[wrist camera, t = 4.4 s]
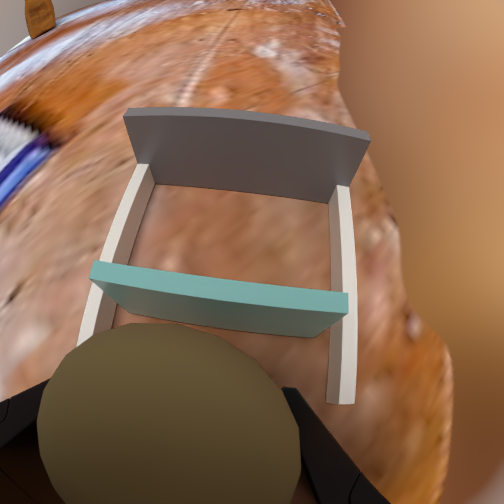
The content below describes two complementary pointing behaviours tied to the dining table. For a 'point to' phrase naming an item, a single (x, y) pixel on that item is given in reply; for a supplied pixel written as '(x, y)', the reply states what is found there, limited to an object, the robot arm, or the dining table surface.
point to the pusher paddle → (220, 301)
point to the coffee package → (39, 16)
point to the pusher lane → (245, 180)
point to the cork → (166, 422)
